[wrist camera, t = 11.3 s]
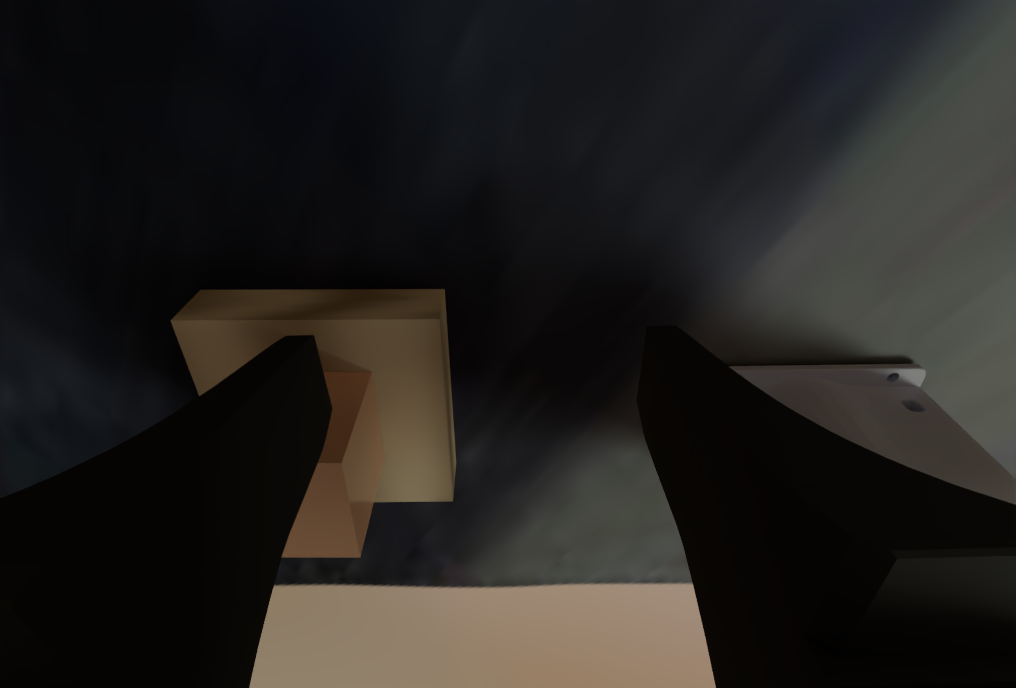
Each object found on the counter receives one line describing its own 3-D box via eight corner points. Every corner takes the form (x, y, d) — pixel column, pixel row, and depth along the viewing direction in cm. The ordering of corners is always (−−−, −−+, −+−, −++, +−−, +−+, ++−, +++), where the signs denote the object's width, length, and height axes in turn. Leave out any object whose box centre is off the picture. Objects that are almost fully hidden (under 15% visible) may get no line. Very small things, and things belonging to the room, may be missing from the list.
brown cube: (371, 372, 22) (341, 463, 18) (383, 459, 24) (360, 557, 20) (250, 371, 22) (190, 462, 18) (275, 459, 24) (228, 557, 20)
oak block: (445, 283, 23) (439, 319, 21) (456, 455, 29) (452, 501, 26) (206, 283, 23) (170, 320, 20) (263, 457, 28) (240, 503, 26)
